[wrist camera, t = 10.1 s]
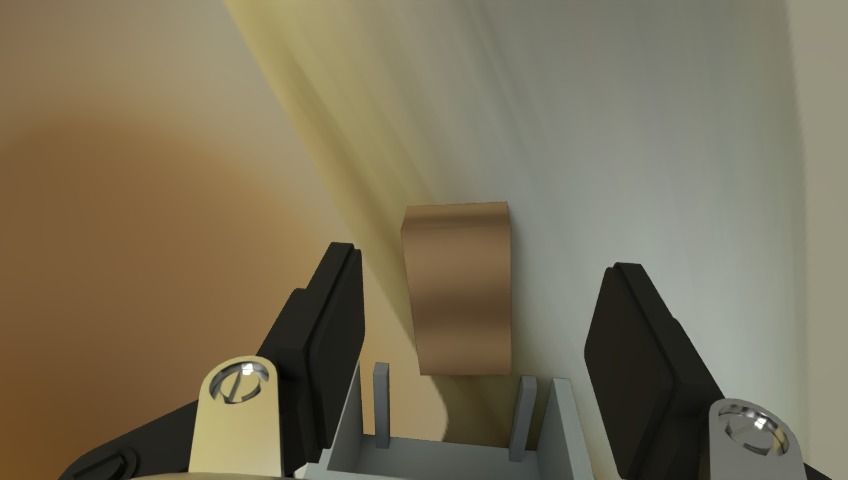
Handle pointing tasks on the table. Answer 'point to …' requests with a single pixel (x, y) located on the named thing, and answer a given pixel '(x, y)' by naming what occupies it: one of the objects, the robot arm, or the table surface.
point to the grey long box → (452, 462)
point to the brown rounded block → (460, 287)
